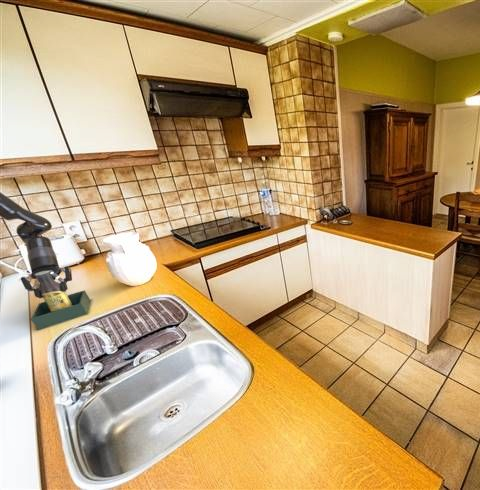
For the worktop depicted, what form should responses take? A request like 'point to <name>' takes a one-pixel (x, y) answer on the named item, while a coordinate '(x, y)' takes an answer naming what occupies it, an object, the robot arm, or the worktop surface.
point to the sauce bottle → (52, 292)
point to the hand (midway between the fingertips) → (52, 294)
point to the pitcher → (129, 259)
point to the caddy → (61, 311)
